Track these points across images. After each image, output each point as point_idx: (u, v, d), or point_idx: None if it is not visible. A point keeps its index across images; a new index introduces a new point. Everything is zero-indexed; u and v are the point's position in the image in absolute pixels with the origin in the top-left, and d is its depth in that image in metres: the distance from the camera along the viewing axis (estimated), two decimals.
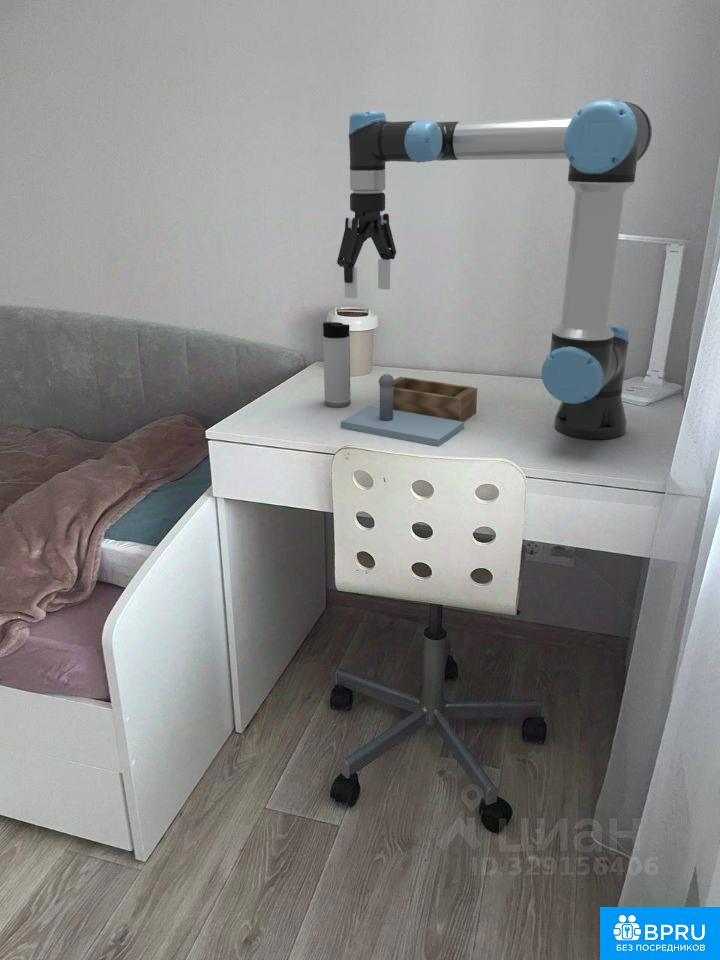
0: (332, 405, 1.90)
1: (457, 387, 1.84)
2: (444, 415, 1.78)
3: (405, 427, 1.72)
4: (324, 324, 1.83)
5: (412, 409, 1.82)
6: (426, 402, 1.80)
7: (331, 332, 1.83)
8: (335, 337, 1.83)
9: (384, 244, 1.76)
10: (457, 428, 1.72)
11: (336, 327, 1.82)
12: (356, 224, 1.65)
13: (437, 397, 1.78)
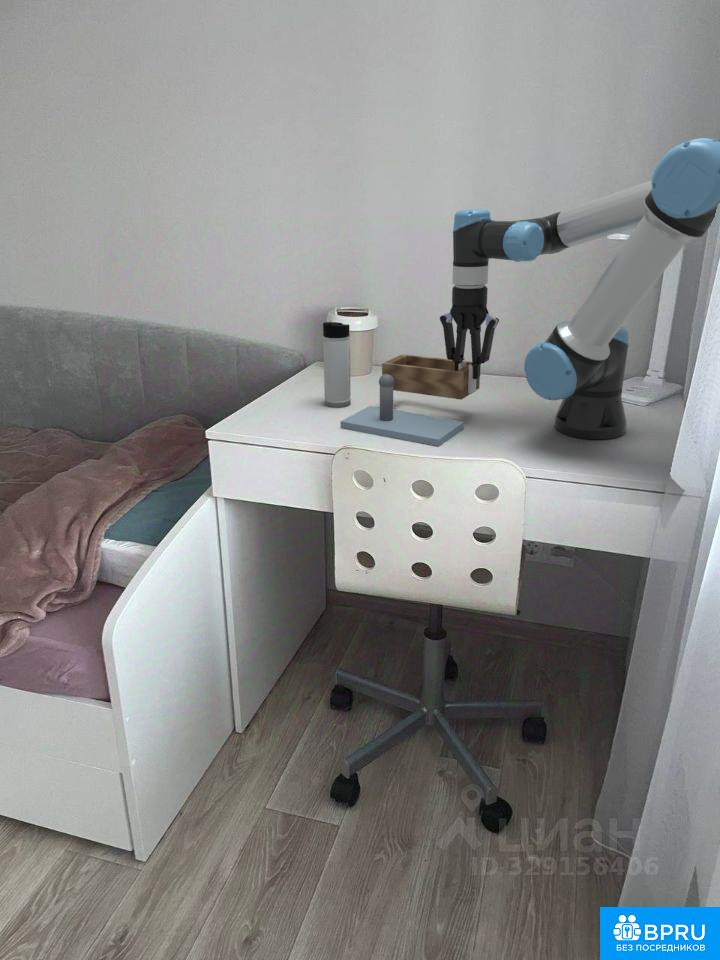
0: (332, 405, 1.90)
1: None
2: (447, 389, 1.76)
3: (405, 427, 1.72)
4: (324, 324, 1.83)
5: (414, 385, 1.80)
6: (428, 377, 1.77)
7: (331, 332, 1.83)
8: (335, 337, 1.83)
9: (472, 344, 1.73)
10: (457, 428, 1.72)
11: (336, 327, 1.82)
12: (443, 321, 1.75)
13: (439, 372, 1.75)
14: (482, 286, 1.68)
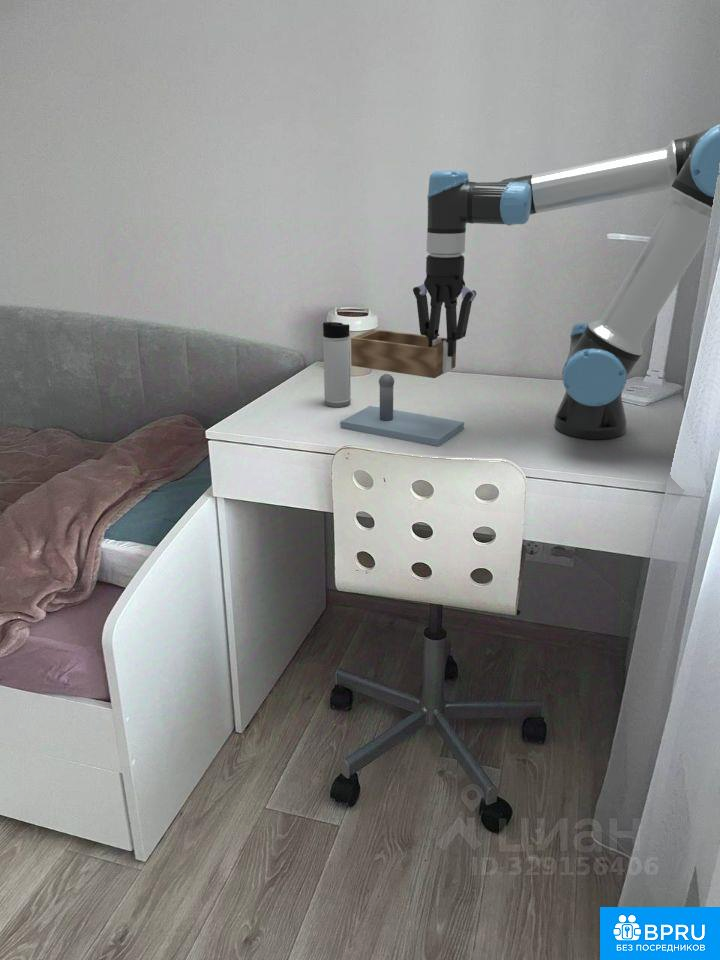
0: (332, 405, 1.90)
1: None
2: (419, 367, 1.63)
3: (405, 427, 1.72)
4: (324, 324, 1.83)
5: (385, 362, 1.67)
6: (399, 354, 1.64)
7: (331, 332, 1.83)
8: (335, 337, 1.83)
9: (447, 319, 1.60)
10: (457, 428, 1.72)
11: (336, 327, 1.82)
12: (416, 293, 1.61)
13: (411, 348, 1.62)
14: (458, 255, 1.55)
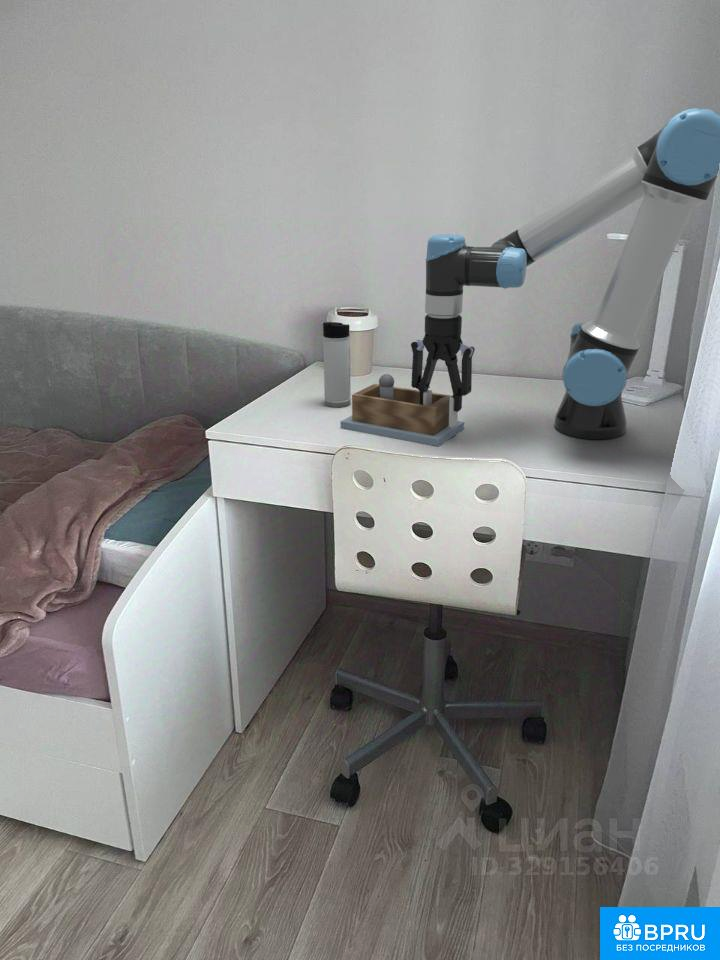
0: (332, 405, 1.90)
1: (433, 395, 1.73)
2: (418, 425, 1.67)
3: None
4: (324, 324, 1.83)
5: (385, 419, 1.71)
6: (399, 411, 1.69)
7: (331, 332, 1.83)
8: (335, 337, 1.83)
9: (450, 376, 1.64)
10: (457, 428, 1.72)
11: (336, 327, 1.82)
12: (414, 348, 1.66)
13: (411, 406, 1.67)
14: (456, 316, 1.59)
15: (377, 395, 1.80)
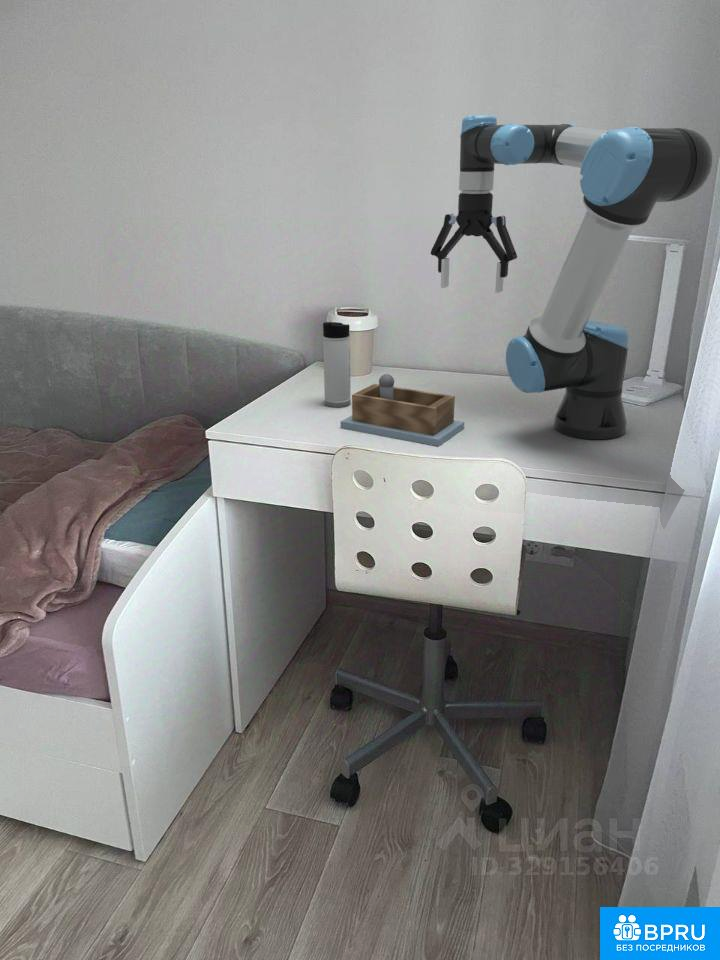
0: (332, 405, 1.90)
1: (433, 395, 1.73)
2: (418, 425, 1.67)
3: None
4: (324, 324, 1.83)
5: (385, 419, 1.71)
6: (399, 411, 1.69)
7: (331, 332, 1.83)
8: (335, 337, 1.83)
9: (492, 246, 1.77)
10: (457, 428, 1.72)
11: (336, 327, 1.82)
12: (446, 220, 1.80)
13: (411, 406, 1.67)
14: (488, 192, 1.74)
15: (377, 395, 1.80)
